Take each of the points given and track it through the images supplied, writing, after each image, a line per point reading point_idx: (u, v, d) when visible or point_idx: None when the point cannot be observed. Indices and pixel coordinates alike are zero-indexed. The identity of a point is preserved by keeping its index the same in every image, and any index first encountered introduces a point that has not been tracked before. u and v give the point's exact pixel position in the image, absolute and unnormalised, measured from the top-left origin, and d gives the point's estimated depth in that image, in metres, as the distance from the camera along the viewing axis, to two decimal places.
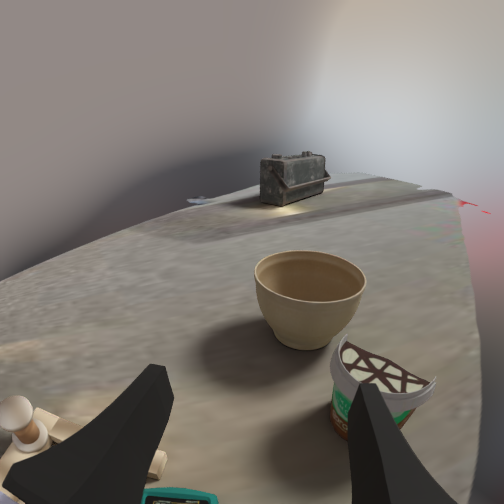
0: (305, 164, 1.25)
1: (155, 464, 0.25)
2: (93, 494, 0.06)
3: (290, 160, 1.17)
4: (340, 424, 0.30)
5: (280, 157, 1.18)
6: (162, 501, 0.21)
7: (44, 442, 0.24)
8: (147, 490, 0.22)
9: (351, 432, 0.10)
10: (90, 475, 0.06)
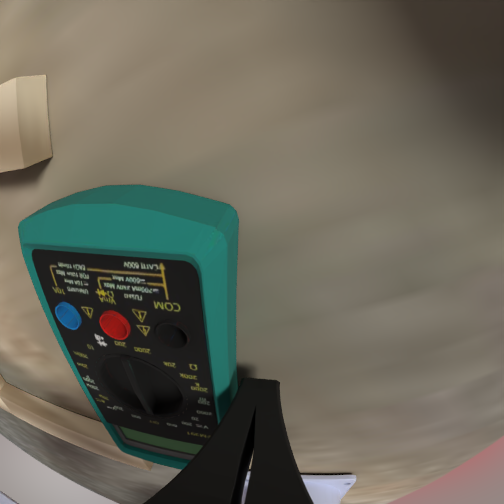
0: None
1: (11, 137, 0.07)
2: None
3: None
4: None
5: None
6: (66, 266, 0.08)
7: None
8: (24, 234, 0.08)
9: None
10: None
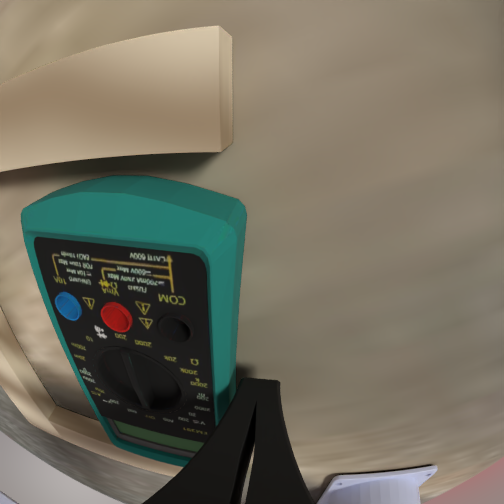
0: None
1: (199, 105, 0.06)
2: None
3: None
4: None
5: None
6: (69, 255, 0.08)
7: None
8: (28, 221, 0.08)
9: (256, 428, 0.10)
10: None
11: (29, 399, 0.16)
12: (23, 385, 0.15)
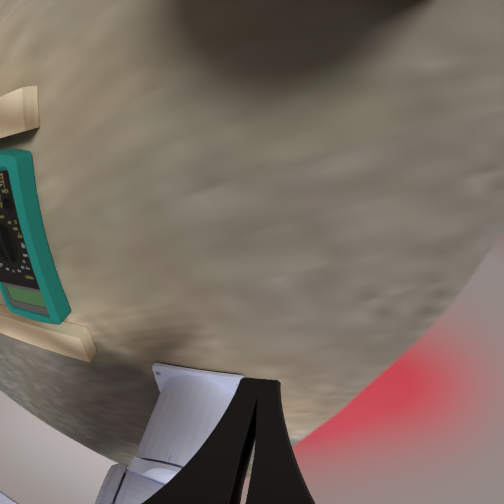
0: None
1: (19, 116, 0.15)
2: None
3: None
4: None
5: None
6: None
7: None
8: None
9: (256, 428, 0.10)
10: None
11: None
12: None
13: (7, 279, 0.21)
